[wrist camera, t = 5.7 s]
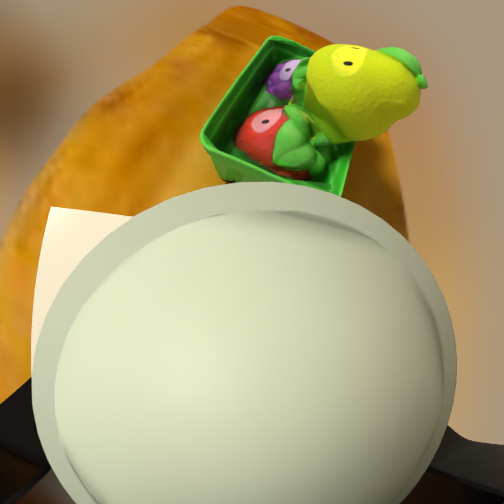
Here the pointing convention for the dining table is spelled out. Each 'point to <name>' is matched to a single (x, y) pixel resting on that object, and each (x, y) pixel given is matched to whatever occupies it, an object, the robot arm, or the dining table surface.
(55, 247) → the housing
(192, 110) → the dining table surface
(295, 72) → the fruit basket
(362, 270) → the grey cylinder
